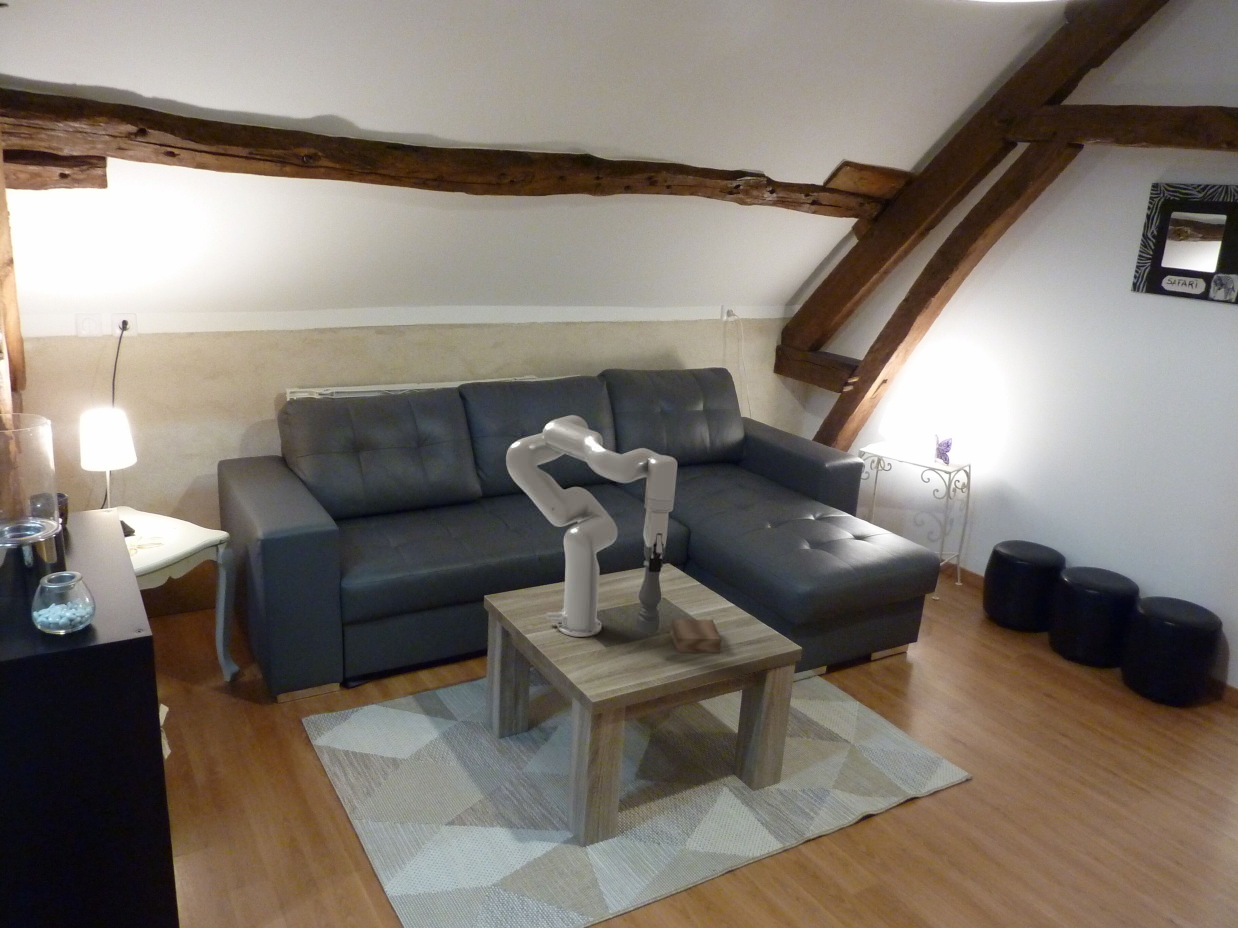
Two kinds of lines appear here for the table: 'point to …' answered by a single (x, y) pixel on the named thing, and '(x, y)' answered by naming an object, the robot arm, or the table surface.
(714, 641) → the walnut plinth
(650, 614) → the candle holder
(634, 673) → the table surface
